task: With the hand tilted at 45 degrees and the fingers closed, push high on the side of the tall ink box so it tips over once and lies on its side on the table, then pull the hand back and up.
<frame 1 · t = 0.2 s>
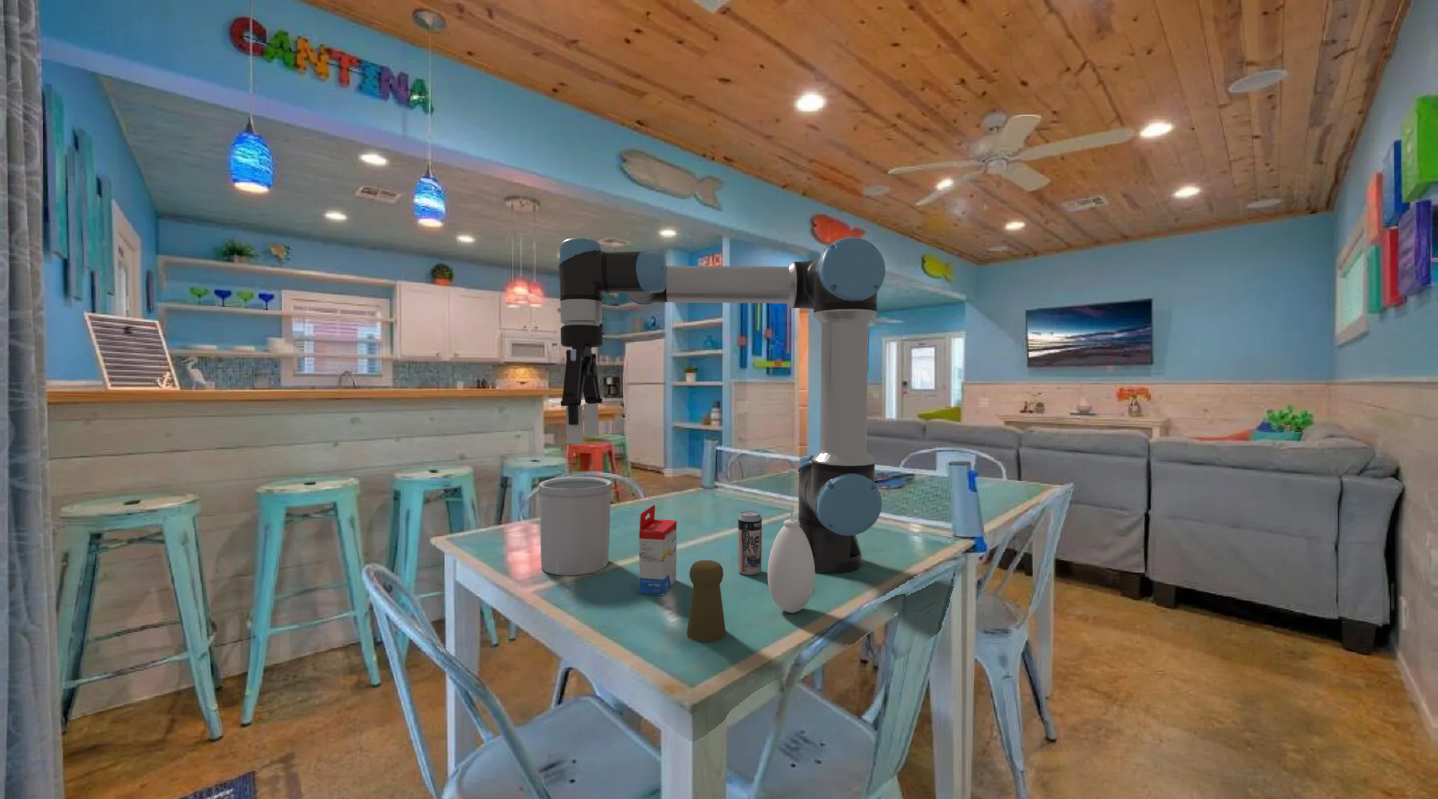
hand: (583, 440, 103), 28 cm above the table, tool pointing down, fingers open, 13 cm apart
ink box: (658, 587, 104), on the table
cork: (706, 634, 85), on the table
air blower bulb: (790, 611, 94), on the table
beer can: (749, 573, 112), on the table
utensil holder: (576, 565, 117), on the table
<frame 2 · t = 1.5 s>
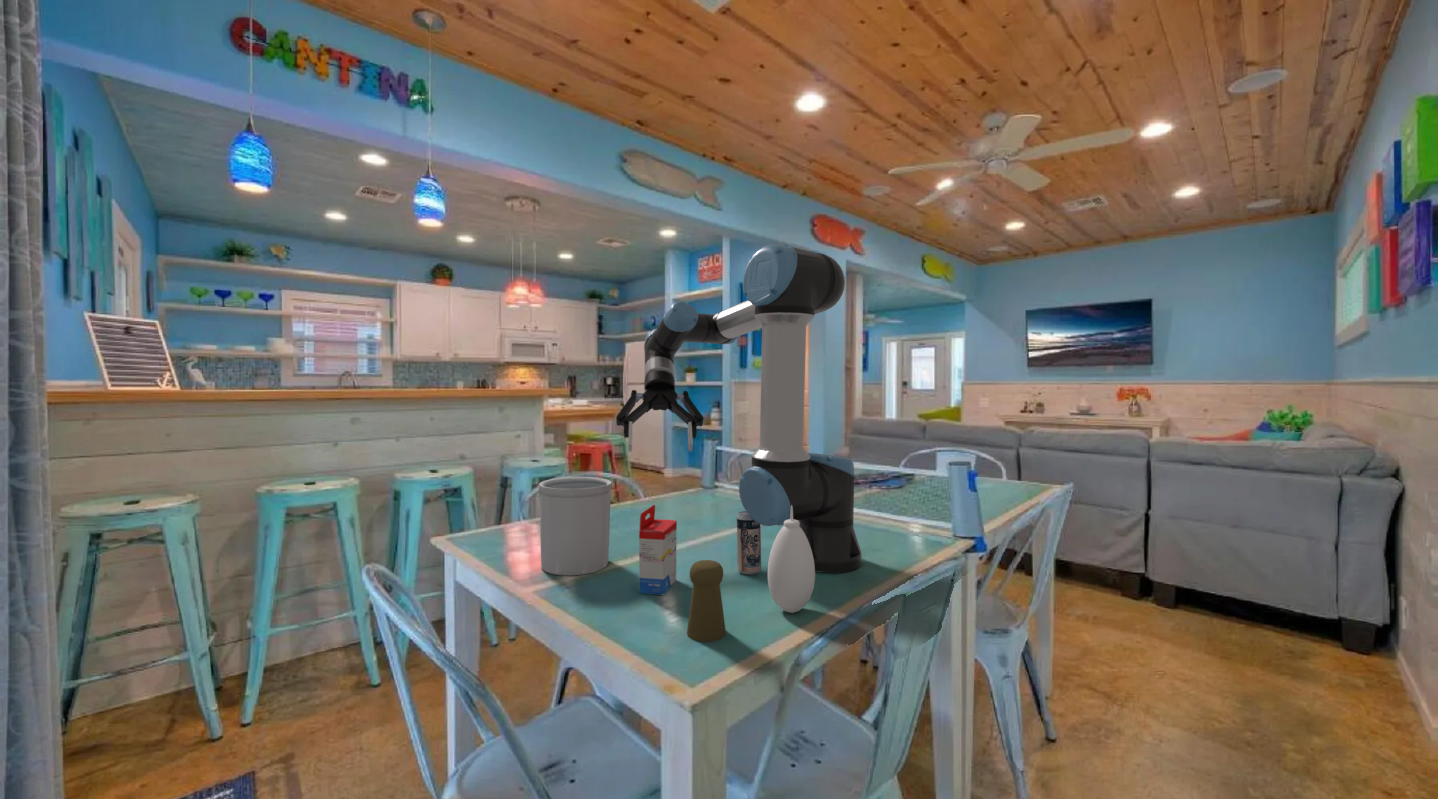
hand: (660, 448, 125), 24 cm above the table, tool tilted 45°, fingers open, 13 cm apart
beer can: (749, 573, 112), on the table, touching arm
everything else where it was.
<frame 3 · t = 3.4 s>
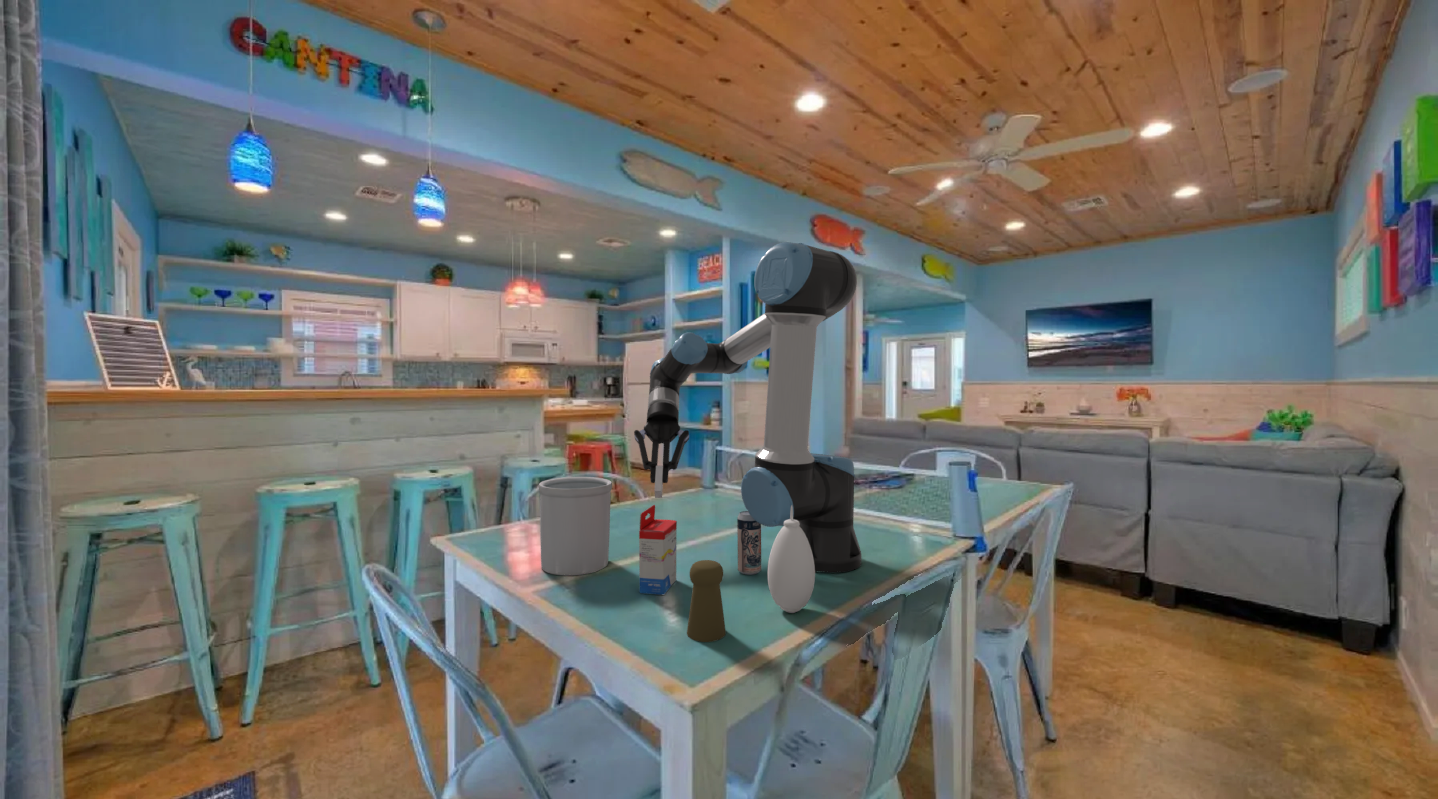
hand: (658, 494, 117), 15 cm above the table, tool tilted 45°, fingers closed
beer can: (749, 572, 112), on the table
everything else where it was.
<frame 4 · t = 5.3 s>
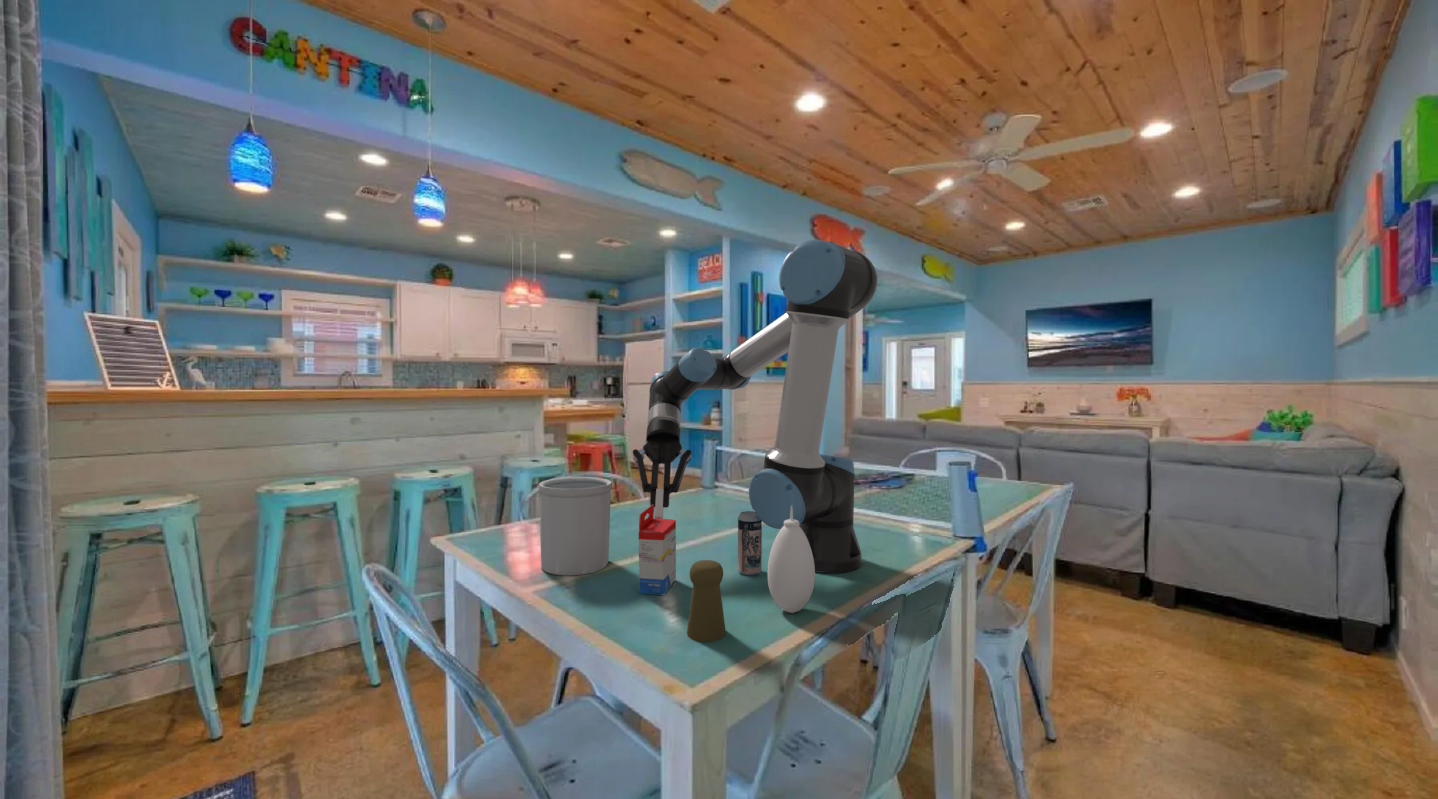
hand: (658, 520, 109), 11 cm above the table, tool tilted 45°, fingers closed
ink box: (658, 586, 104), on the table, touching gripper
everything else where it was.
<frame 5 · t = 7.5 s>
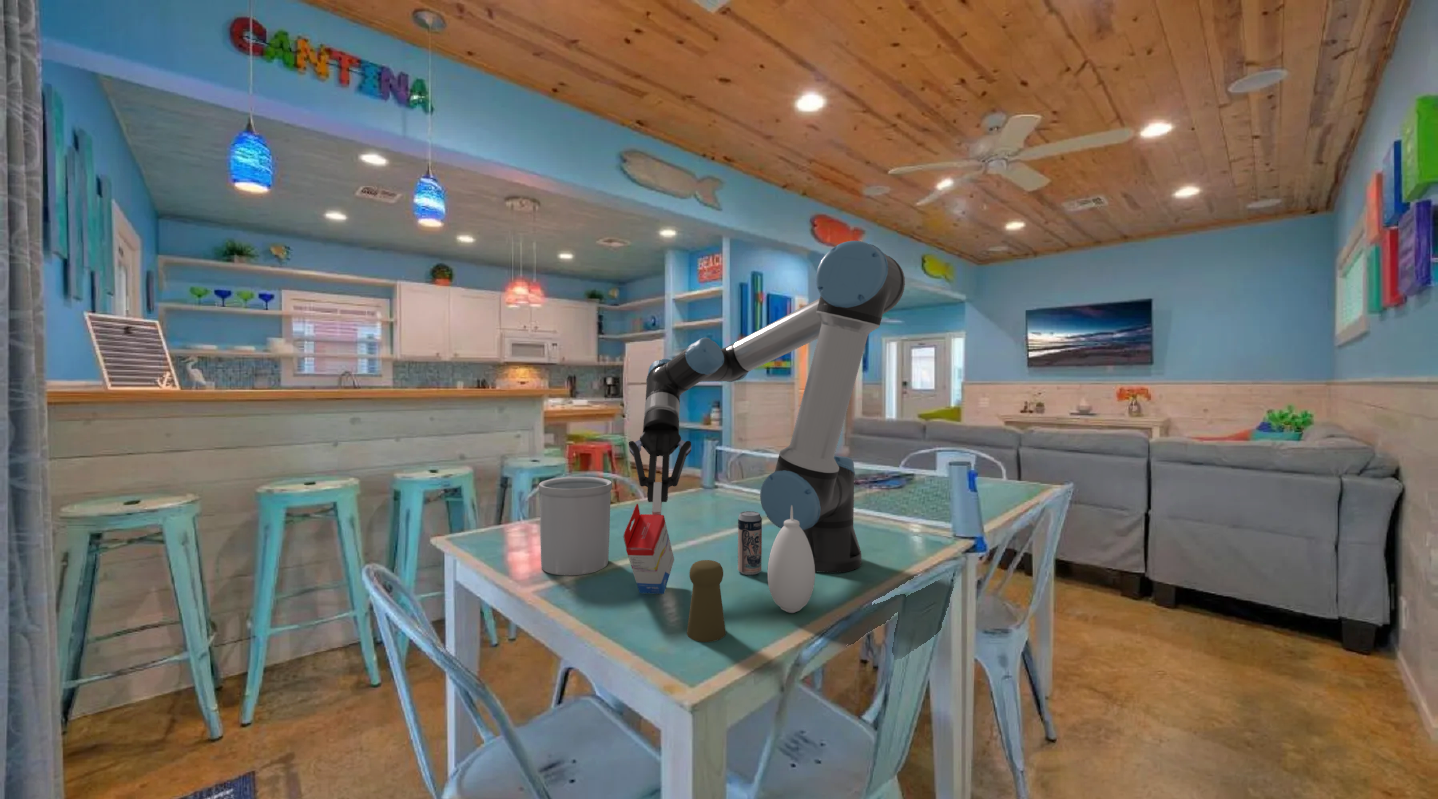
hand: (656, 515, 102), 14 cm above the table, tool tilted 45°, fingers closed
ink box: (657, 576, 104), point 2 cm above the table
everything else where it was.
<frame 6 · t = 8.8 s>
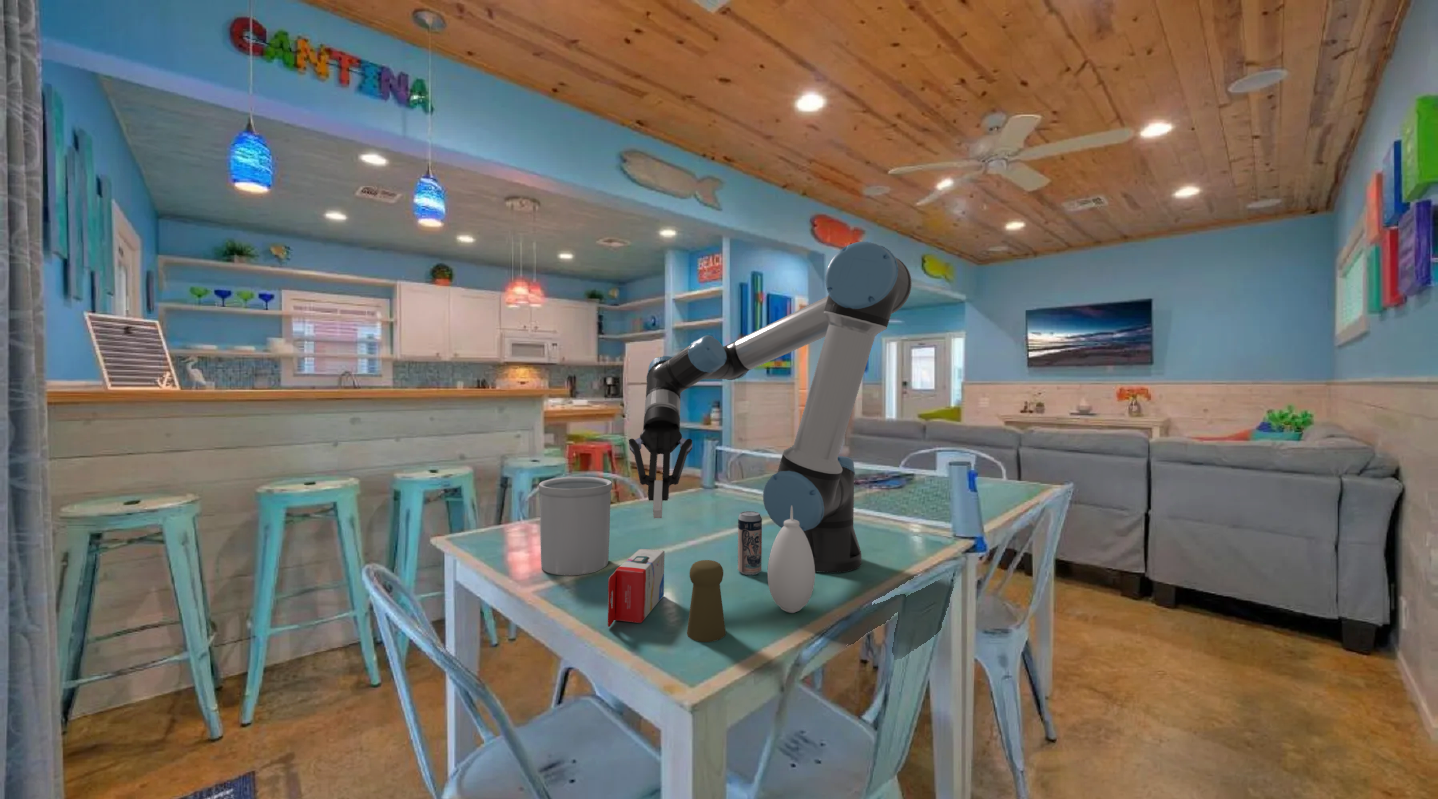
hand: (657, 514, 100), 15 cm above the table, tool tilted 45°, fingers closed
ink box: (652, 571, 100), point 4 cm above the table
everything else where it was.
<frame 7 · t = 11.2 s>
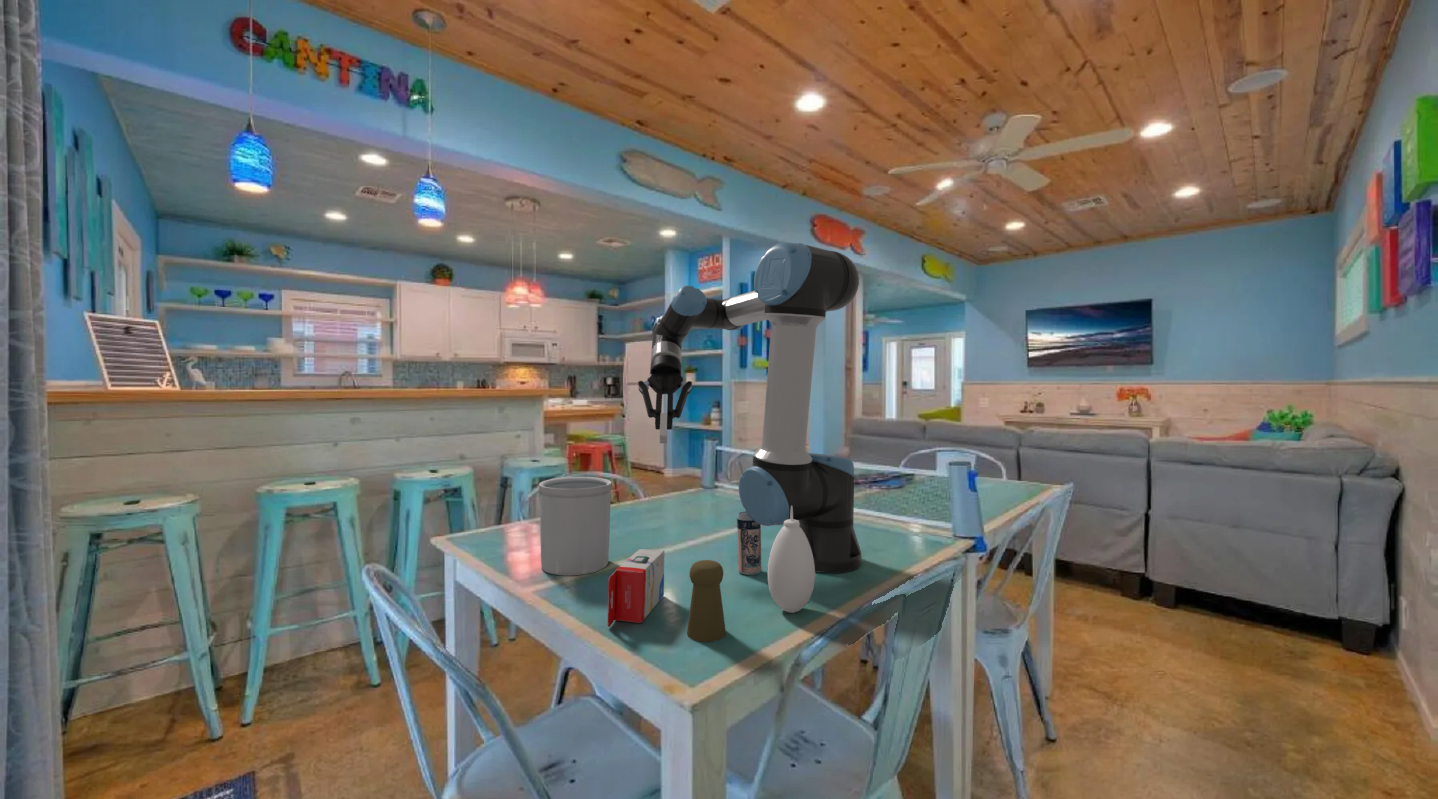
hand: (663, 439, 120), 26 cm above the table, tool tilted 45°, fingers closed
beer can: (749, 573, 112), on the table, touching arm
everything else where it was.
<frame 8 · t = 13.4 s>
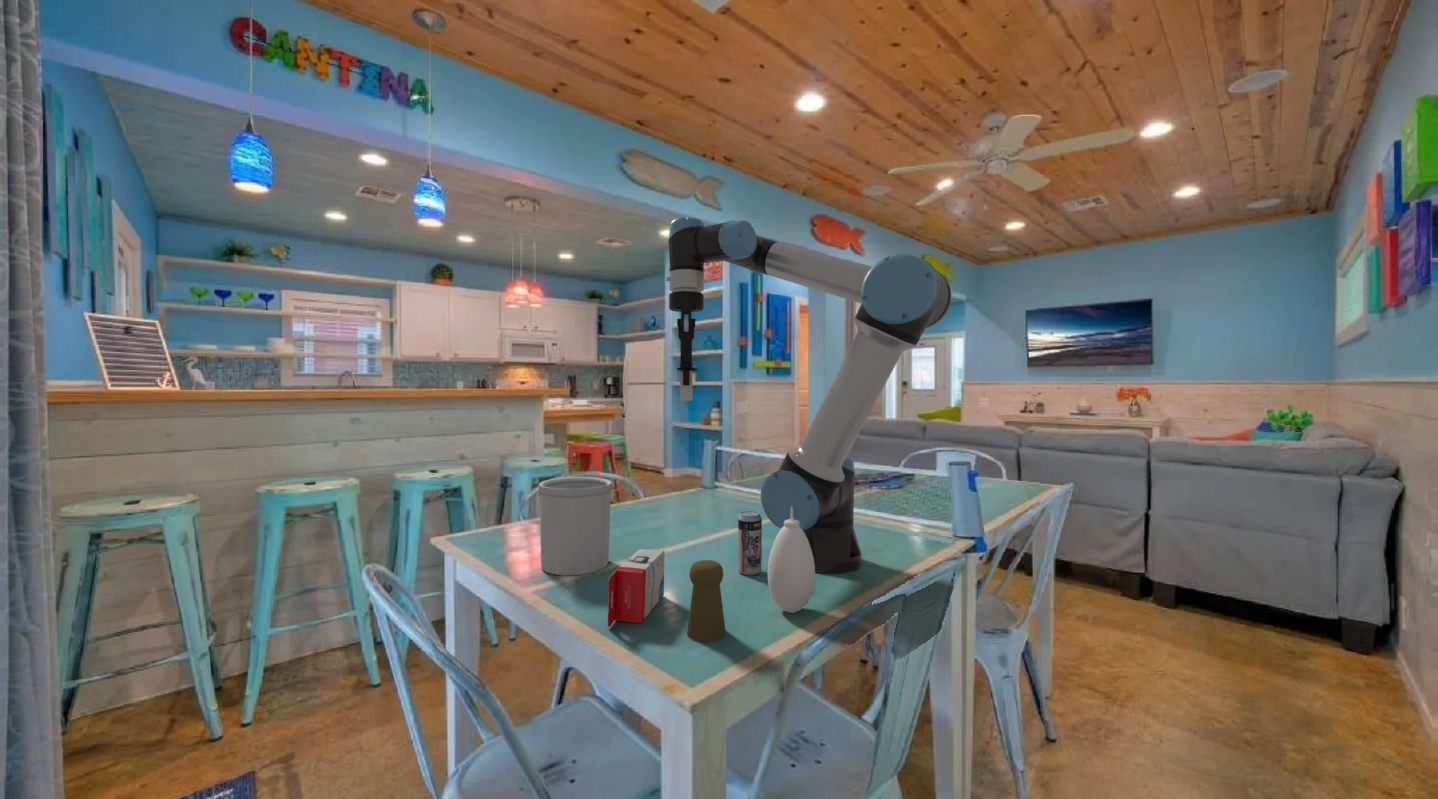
hand: (686, 400, 121), 34 cm above the table, tool pointing down, fingers closed
beer can: (749, 573, 112), on the table
everything else where it was.
at the end: ink box tilted 91°; ink box inside the target area (5.6 cm from its centre), point 4.3 cm above the table; the gripper is holding nothing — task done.
